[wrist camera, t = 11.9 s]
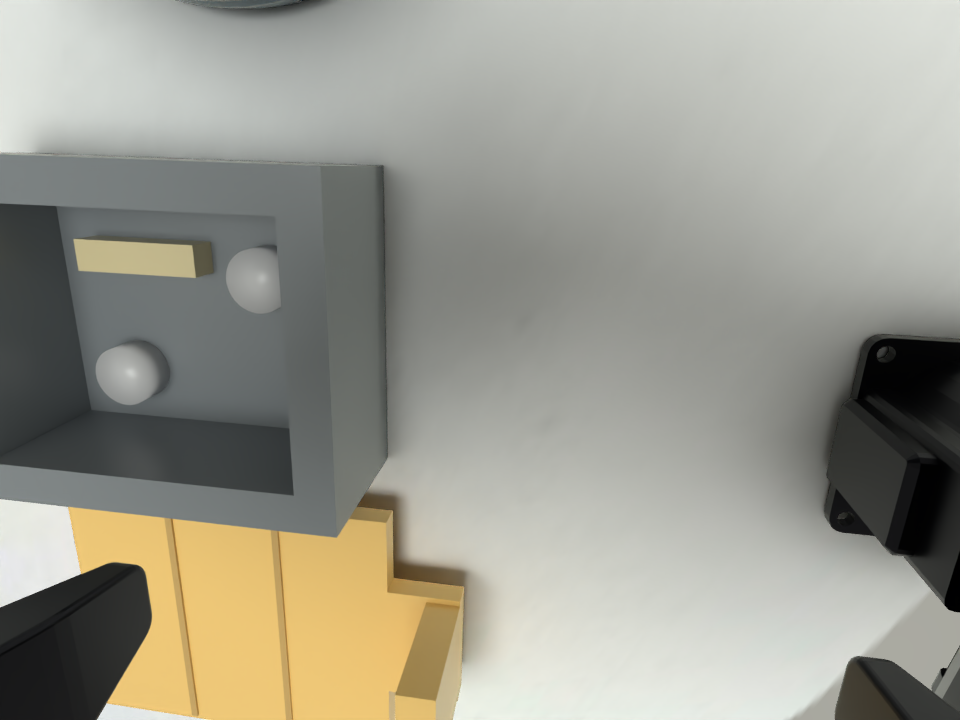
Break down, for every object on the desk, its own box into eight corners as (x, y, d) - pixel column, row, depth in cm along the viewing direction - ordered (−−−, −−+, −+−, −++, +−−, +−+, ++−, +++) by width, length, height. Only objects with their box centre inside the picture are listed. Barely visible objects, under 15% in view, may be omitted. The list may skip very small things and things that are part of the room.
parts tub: (383, 165, 19) (320, 166, 14) (387, 458, 22) (336, 537, 17) (34, 152, 21) (-127, 149, 16) (83, 428, 24) (-40, 494, 19)
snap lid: (470, 503, 22) (437, 614, 17) (463, 718, 25) (433, 872, 20) (100, 464, 24) (-40, 552, 19) (135, 669, 27) (24, 797, 22)
